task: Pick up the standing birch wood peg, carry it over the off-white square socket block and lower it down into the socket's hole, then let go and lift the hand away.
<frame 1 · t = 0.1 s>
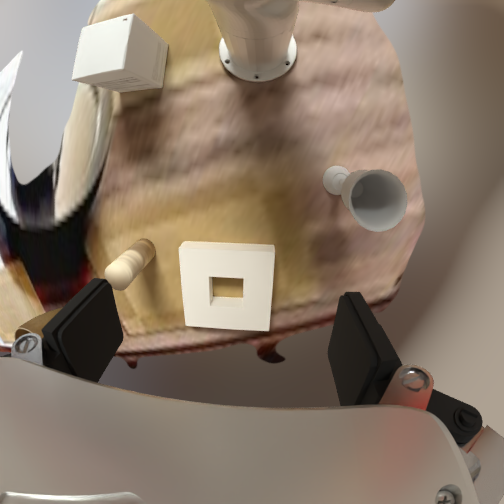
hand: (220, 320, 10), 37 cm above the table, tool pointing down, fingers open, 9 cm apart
peg: (144, 249, 49), on the table
socket: (228, 283, 51), on the table
plant pot: (69, 318, 57), on the table
supplement box: (143, 68, 37), on the table
chalice: (336, 180, 44), on the table
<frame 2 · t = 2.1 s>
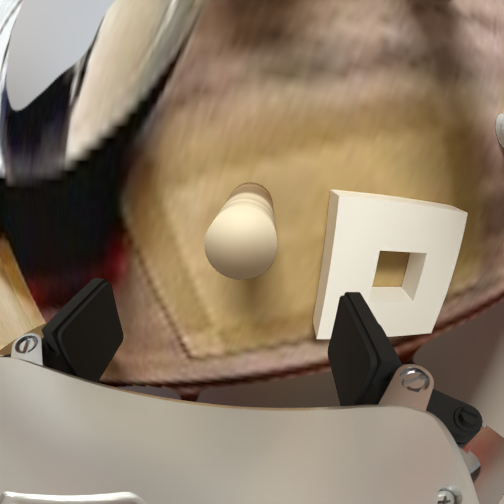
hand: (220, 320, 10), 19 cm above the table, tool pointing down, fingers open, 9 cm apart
peg: (250, 204, 28), on the table
socket: (386, 264, 29), on the table
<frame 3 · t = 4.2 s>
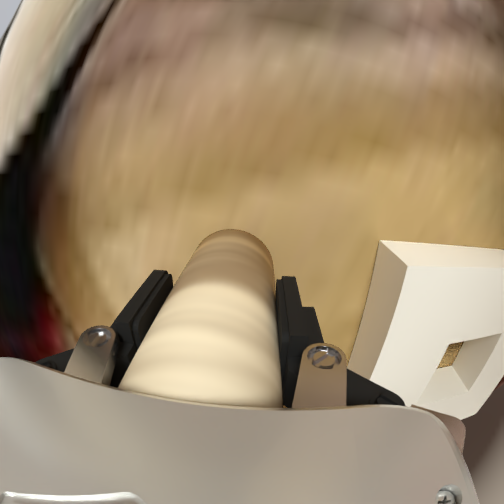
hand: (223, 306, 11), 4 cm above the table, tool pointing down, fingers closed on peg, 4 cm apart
peg: (232, 268, 15), on the table, touching gripper
socket: (441, 343, 17), on the table
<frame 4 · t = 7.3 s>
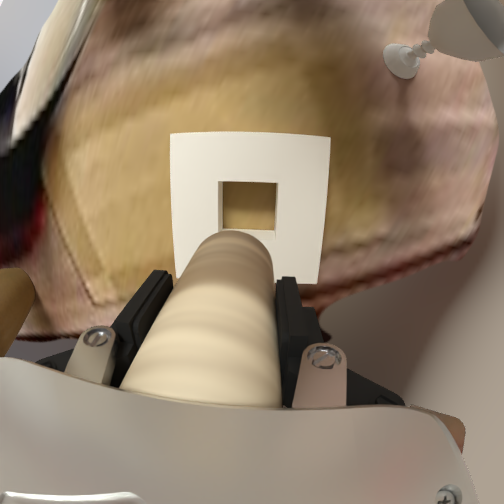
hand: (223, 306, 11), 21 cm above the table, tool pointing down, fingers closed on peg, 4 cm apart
peg: (232, 269, 15), point 17 cm above the table, touching gripper
socket: (249, 204, 31), on the table
plant pot: (23, 283, 37), on the table
chalice: (400, 61, 24), on the table
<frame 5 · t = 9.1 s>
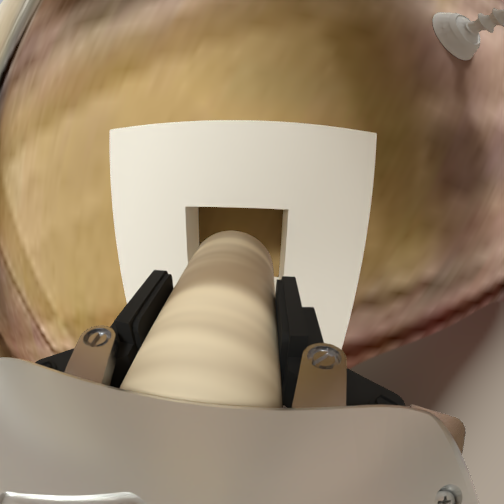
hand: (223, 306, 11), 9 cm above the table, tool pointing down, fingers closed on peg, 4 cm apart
peg: (232, 269, 15), point 5 cm above the table, touching gripper
socket: (239, 238, 20), on the table
chalice: (453, 36, 13), on the table
when the fingers open (4 cm above the table, at t = 10.6 s): peg stays where it is, resting in socket.
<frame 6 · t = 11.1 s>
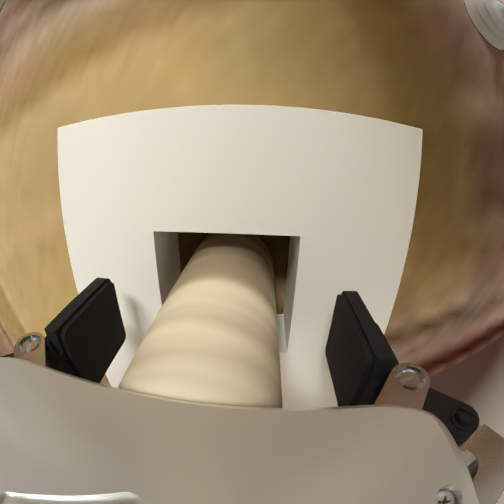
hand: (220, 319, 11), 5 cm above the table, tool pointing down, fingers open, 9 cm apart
peg: (232, 266, 15), resting in socket
socket: (232, 266, 15), on the table
chalice: (486, 21, 8), on the table
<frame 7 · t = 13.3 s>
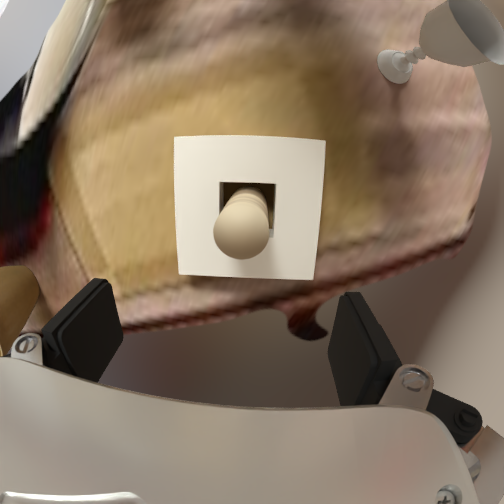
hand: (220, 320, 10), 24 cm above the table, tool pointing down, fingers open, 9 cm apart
peg: (248, 203, 33), resting in socket
socket: (248, 203, 33), on the table
plant pot: (27, 281, 39), on the table
chalice: (393, 66, 25), on the table
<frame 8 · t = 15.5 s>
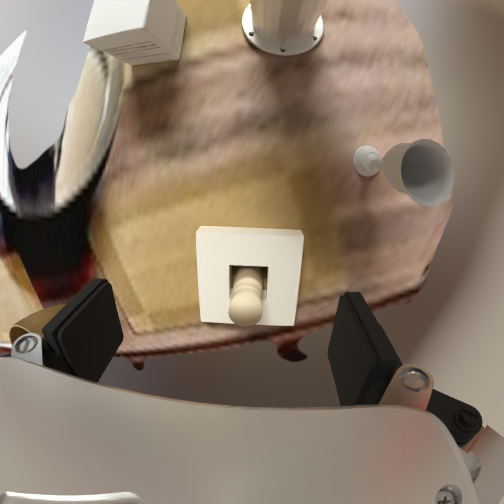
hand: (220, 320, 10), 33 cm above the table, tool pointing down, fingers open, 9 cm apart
peg: (249, 273, 47), resting in socket
socket: (249, 273, 47), on the table
plant pot: (69, 315, 53), on the table
supplement box: (158, 41, 33), on the table
chalice: (367, 160, 39), on the table
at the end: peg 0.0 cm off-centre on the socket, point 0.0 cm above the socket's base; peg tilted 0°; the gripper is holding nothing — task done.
